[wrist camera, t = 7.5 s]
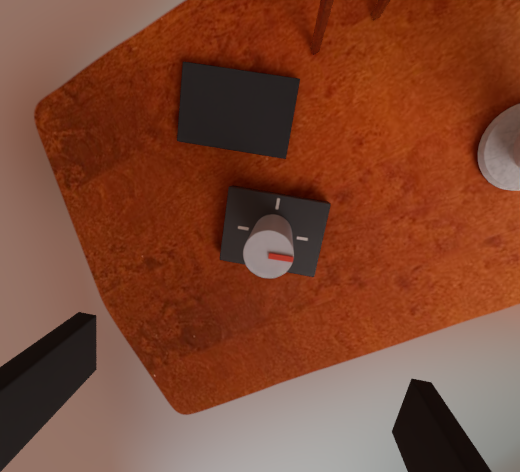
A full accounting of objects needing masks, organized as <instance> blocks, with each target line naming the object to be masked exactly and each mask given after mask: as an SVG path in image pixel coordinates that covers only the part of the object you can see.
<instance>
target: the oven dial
mask: <svg viewBox="0 0 520 472" xmlns="http://www.w3.org/2000/svg"><path fill="white" fill-rule="evenodd" d="M243 257H244V261H245V264H246V266H247V267H248V269H249V270H250V271H251V272H252V273H254V274H255V275H257V276H259V277H262V278H276V277H279V276H281V275H283V274H284V273H286V272H287V271H288V270H289V268H290V267H291V265H292V263H293V259H294V249H293V239H292V230H291V226H290V224H289V223H288V221H287V220H286V219H284V218H283V217H281V216H279V215H274V214H271V215H266V216H264V217H262V218H261V219H259V220H258V221H257V223H256V225H255V226H254V228H253V230H252V232H251V234H250V236H249V238H248V240H247V242H246V244H245V246H244V250H243Z"/></svg>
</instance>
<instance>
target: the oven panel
mask: <svg viewBox="0 0 520 472" xmlns="http://www.w3.org/2000/svg"><path fill="white" fill-rule="evenodd" d="M330 205H331V204H330V203H329V202H326V201H320V200H314V199H308V198H302V197H296V196H290V195H284V194H278V193H273V192H267V191H261V190H255V189H249V188H243V187H237V186H230V187H229V190H228V197H227V205H226V213H225V221H224V229H223V237H222V245H221V253H220V260H224V261H229V262H235V263H240V264H245V261H244V257H243V250H244V246H245V244H246V242H247V240H248V238H249V236H250V234H251V232H252V230H253V228H254V226H255V225H256V223H257V221H258V220H259V219H261V218H262V217H264V216H266V215H271V214H274V215H279V216H281V217H283V218H284V219H286V220H287V221H288V223H289V224H290V226H291V230H292V239H293V249H294V259H293V263H292V265H291V267H290V268H289V270H288V271H287V272H289V273H295V274H300V275H305V276H311V277H314V275H315V270H316V266H317V262H318V257H319V253H320V249H321V244H322V240H323V235H324V231H325V227H326V222H327V218H328V214H329V209H330Z"/></svg>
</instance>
